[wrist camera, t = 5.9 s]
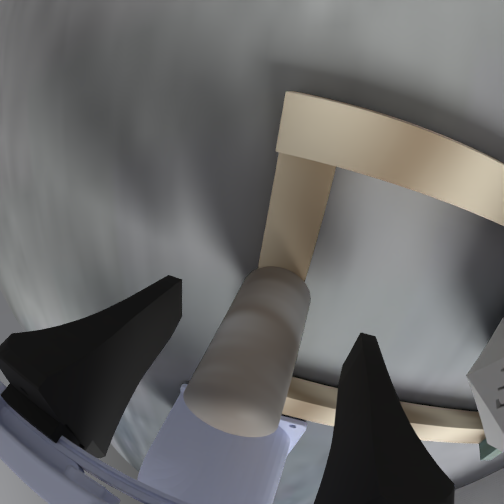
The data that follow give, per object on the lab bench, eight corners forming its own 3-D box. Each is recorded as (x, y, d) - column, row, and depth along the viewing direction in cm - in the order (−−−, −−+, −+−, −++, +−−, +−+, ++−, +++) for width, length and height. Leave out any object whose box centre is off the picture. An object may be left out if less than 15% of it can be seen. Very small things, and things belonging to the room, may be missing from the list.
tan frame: (231, 377, 19) (189, 468, 13) (279, 88, 10) (189, 92, 4) (487, 427, 15) (493, 504, 10) (623, 246, 7) (681, 322, 1)
